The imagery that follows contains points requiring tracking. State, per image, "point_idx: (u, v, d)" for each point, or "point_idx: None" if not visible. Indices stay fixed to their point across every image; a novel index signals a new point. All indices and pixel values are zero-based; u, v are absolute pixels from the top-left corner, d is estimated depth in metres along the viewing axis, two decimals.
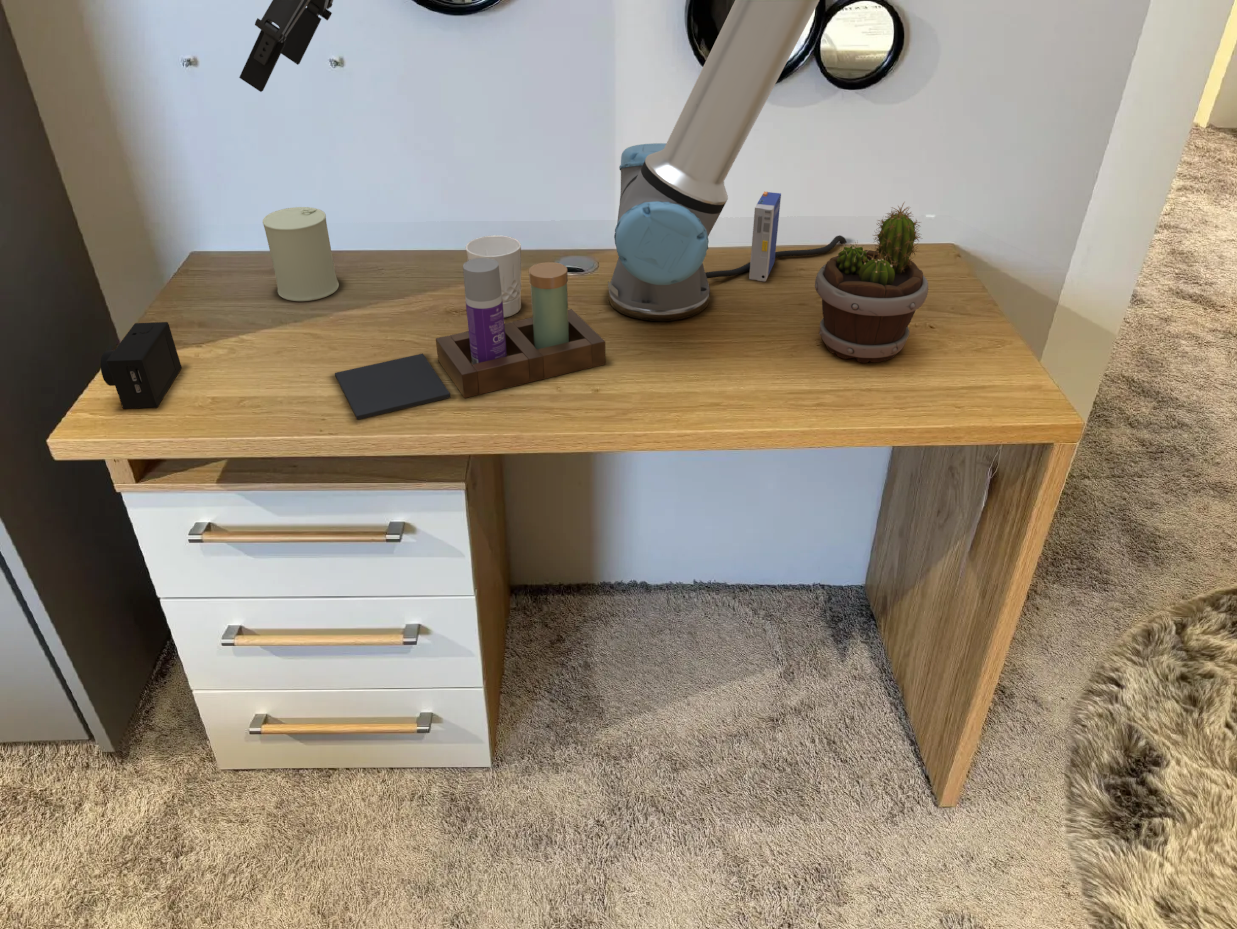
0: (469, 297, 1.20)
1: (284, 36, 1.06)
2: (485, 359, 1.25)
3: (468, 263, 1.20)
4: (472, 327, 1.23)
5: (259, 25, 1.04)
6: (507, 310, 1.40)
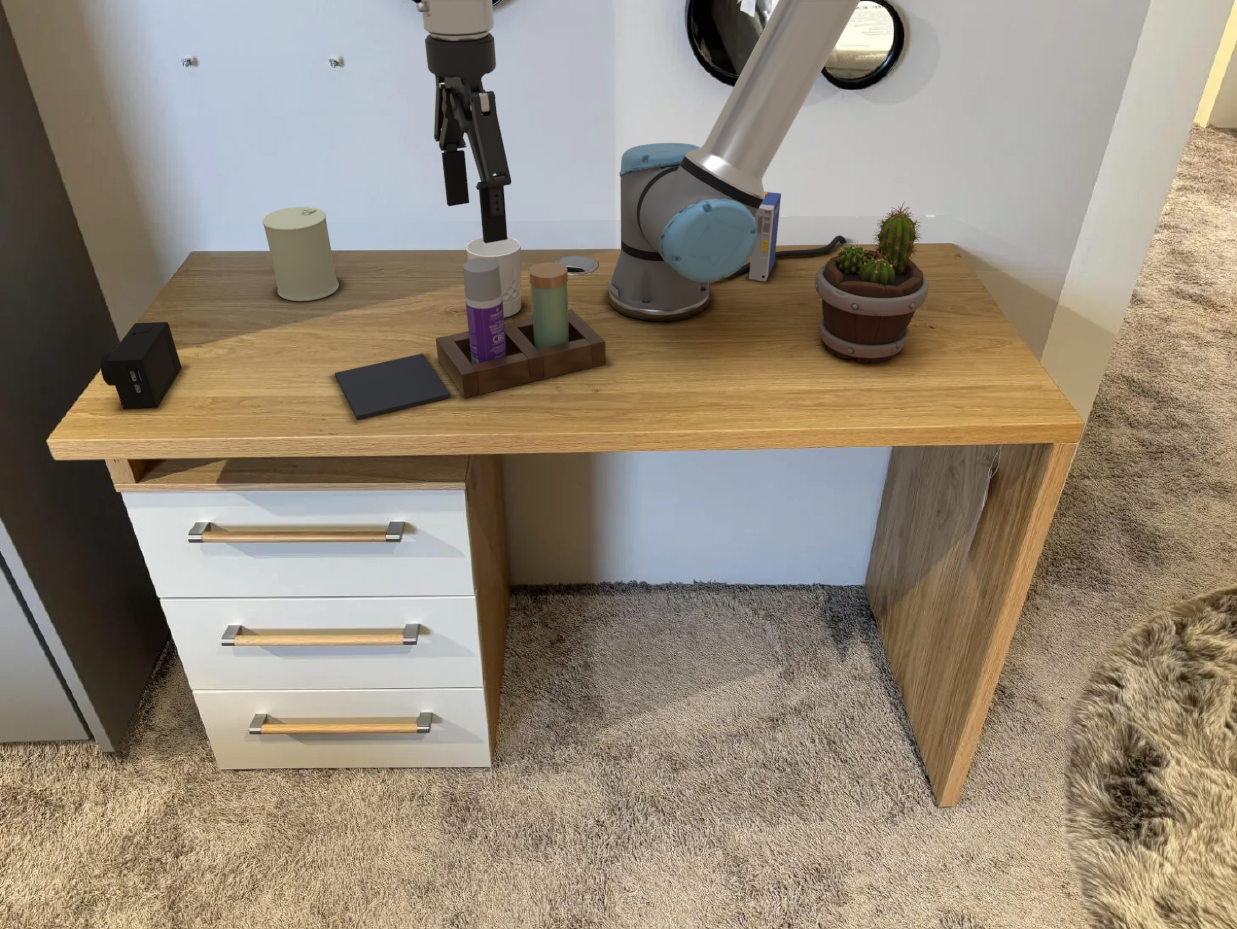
0: (469, 297, 1.20)
1: None
2: (485, 359, 1.25)
3: (468, 263, 1.20)
4: (472, 327, 1.23)
5: (491, 185, 1.04)
6: (507, 310, 1.40)
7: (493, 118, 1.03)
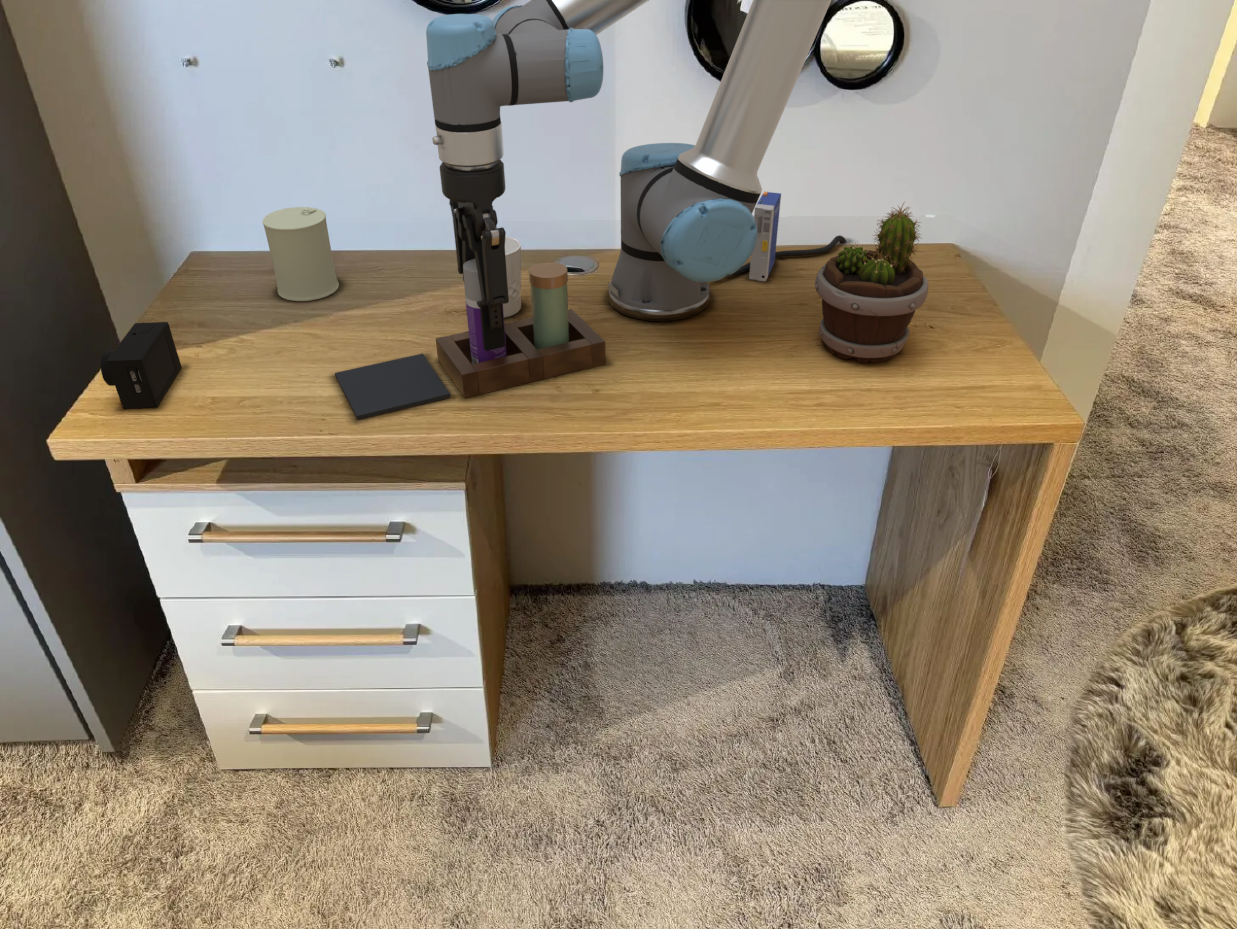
0: (469, 297, 1.20)
1: None
2: (485, 359, 1.25)
3: (468, 263, 1.20)
4: (472, 327, 1.23)
5: (490, 306, 1.16)
6: (507, 310, 1.40)
7: (501, 251, 1.13)
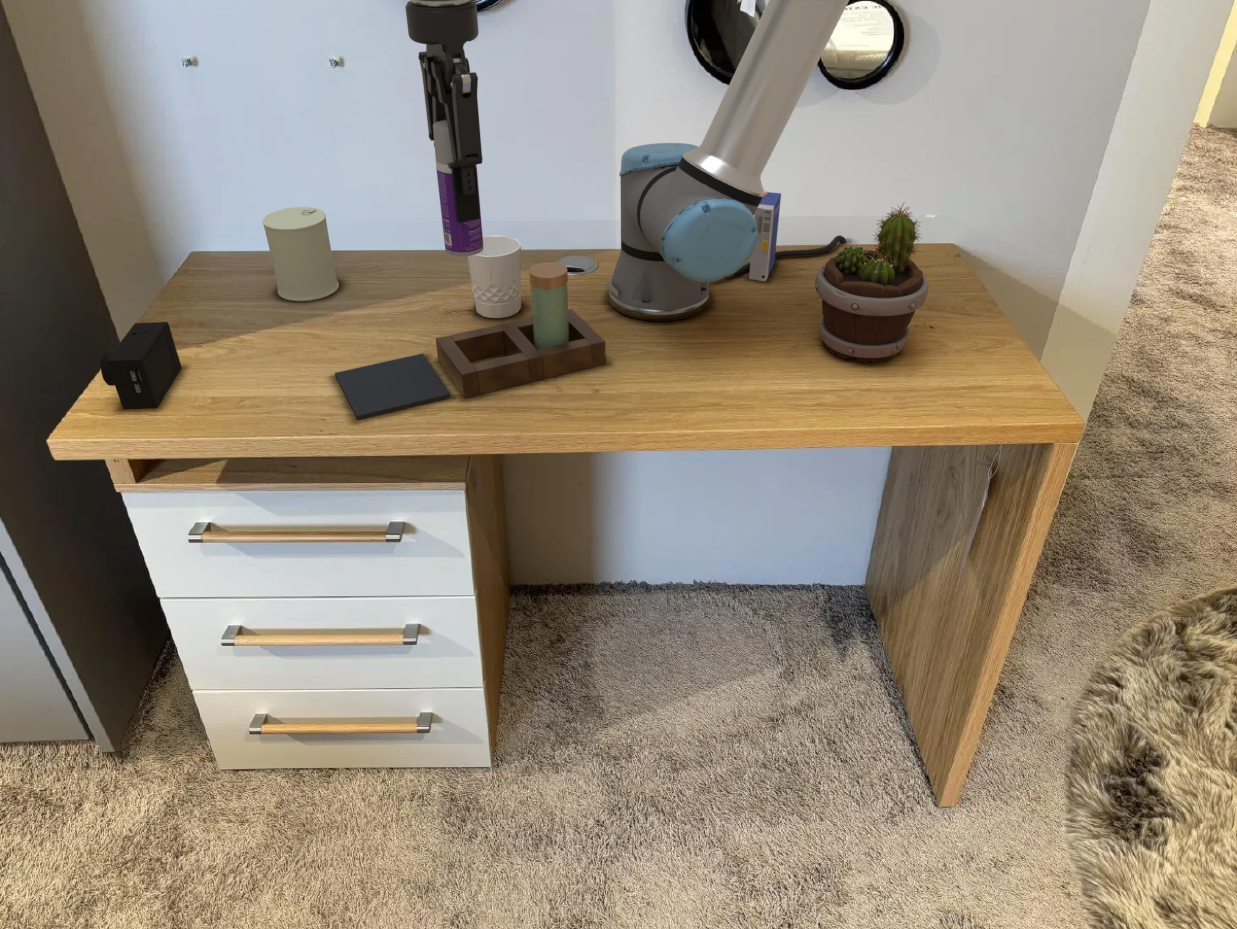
0: (440, 161, 1.10)
1: None
2: (458, 233, 1.14)
3: (439, 123, 1.09)
4: (443, 196, 1.12)
5: (462, 165, 1.06)
6: (507, 310, 1.40)
7: (473, 100, 1.03)
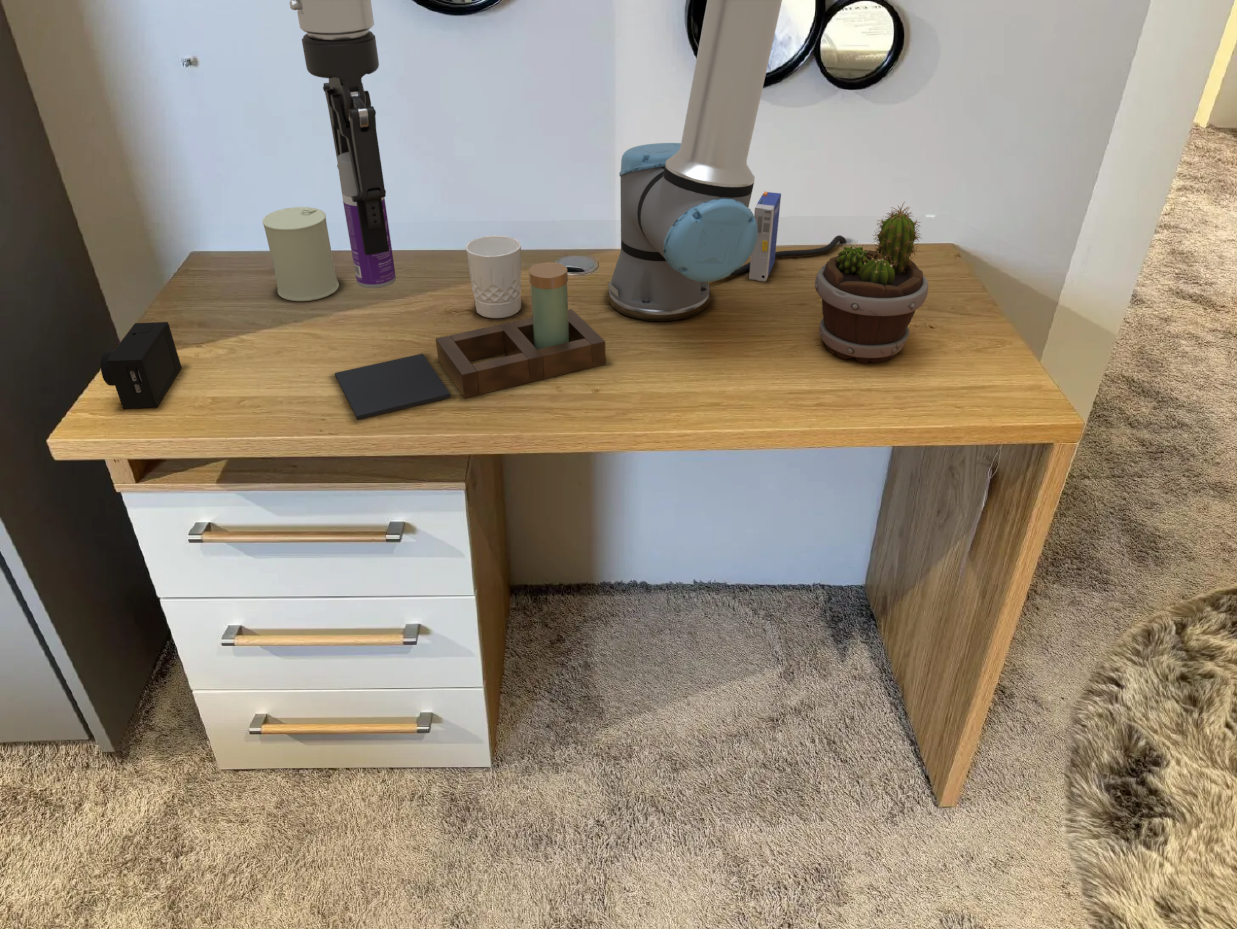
0: (345, 193, 1.08)
1: None
2: (367, 266, 1.12)
3: (343, 155, 1.08)
4: (350, 229, 1.11)
5: (364, 199, 1.04)
6: (507, 310, 1.40)
7: (372, 134, 1.01)
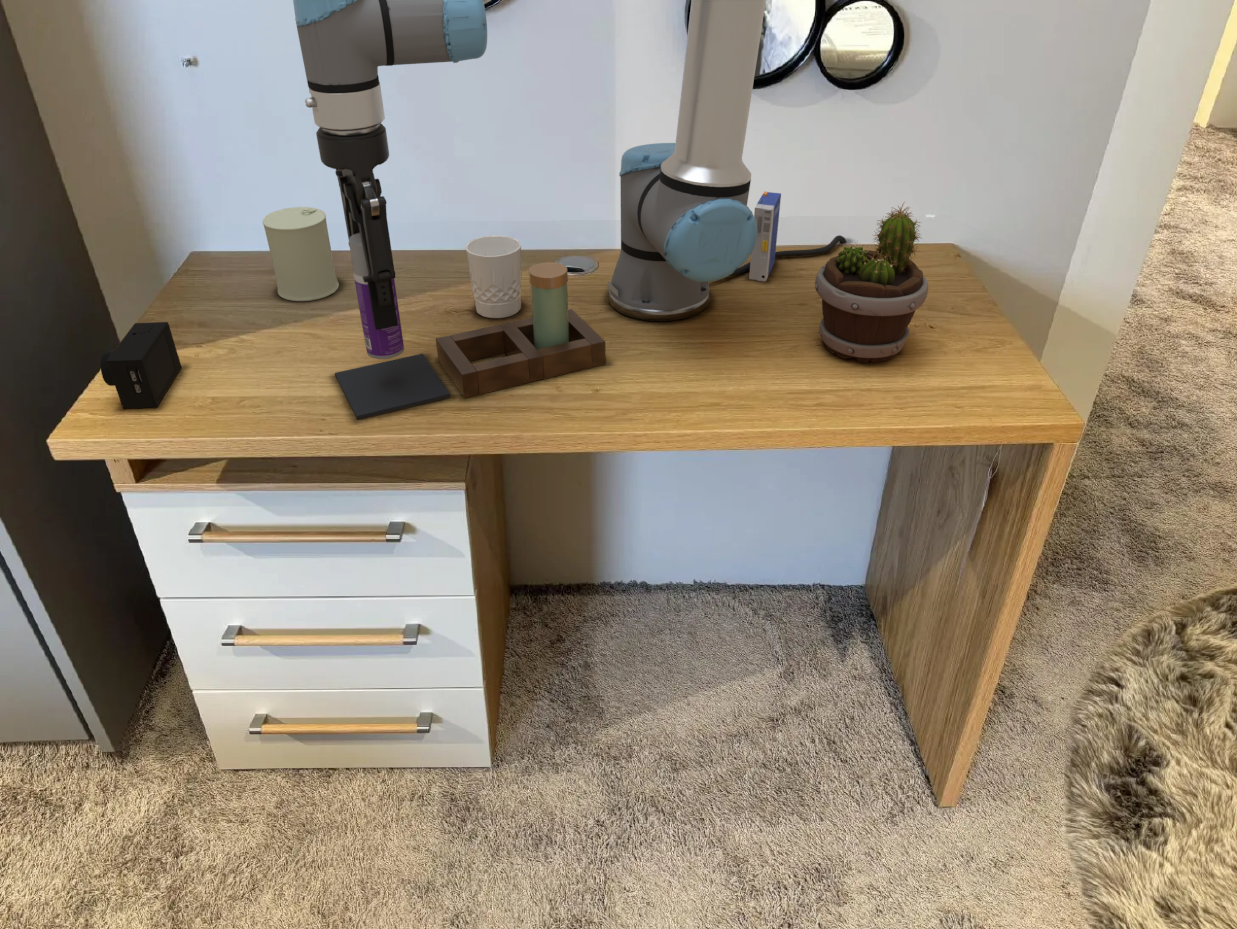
0: (356, 272, 1.13)
1: None
2: (377, 339, 1.18)
3: (355, 236, 1.13)
4: (361, 305, 1.16)
5: (375, 280, 1.10)
6: (507, 310, 1.40)
7: (382, 222, 1.06)
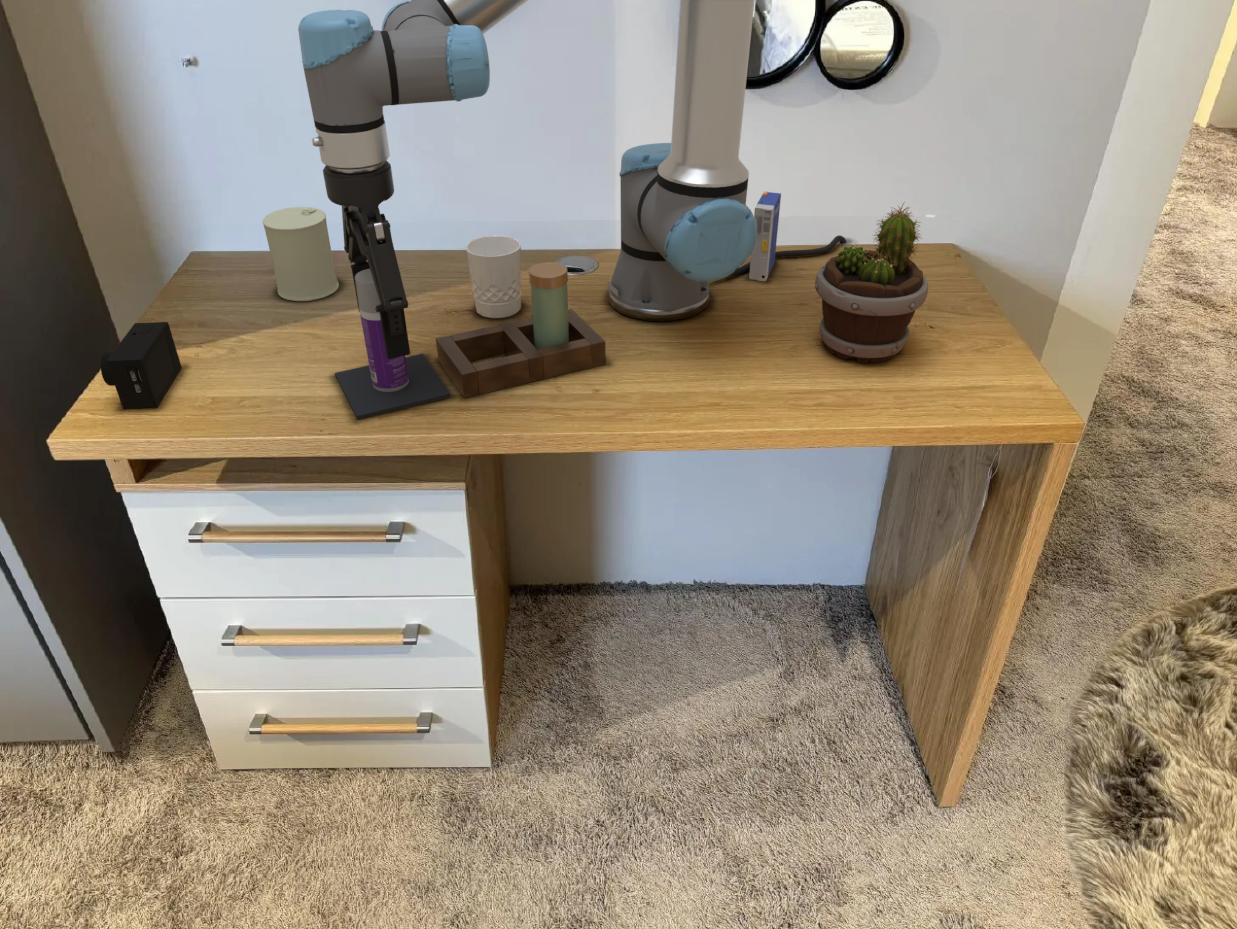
0: (362, 309, 1.16)
1: None
2: (382, 372, 1.21)
3: (361, 273, 1.16)
4: (367, 339, 1.19)
5: (387, 309, 1.08)
6: (507, 310, 1.40)
7: (389, 246, 1.07)
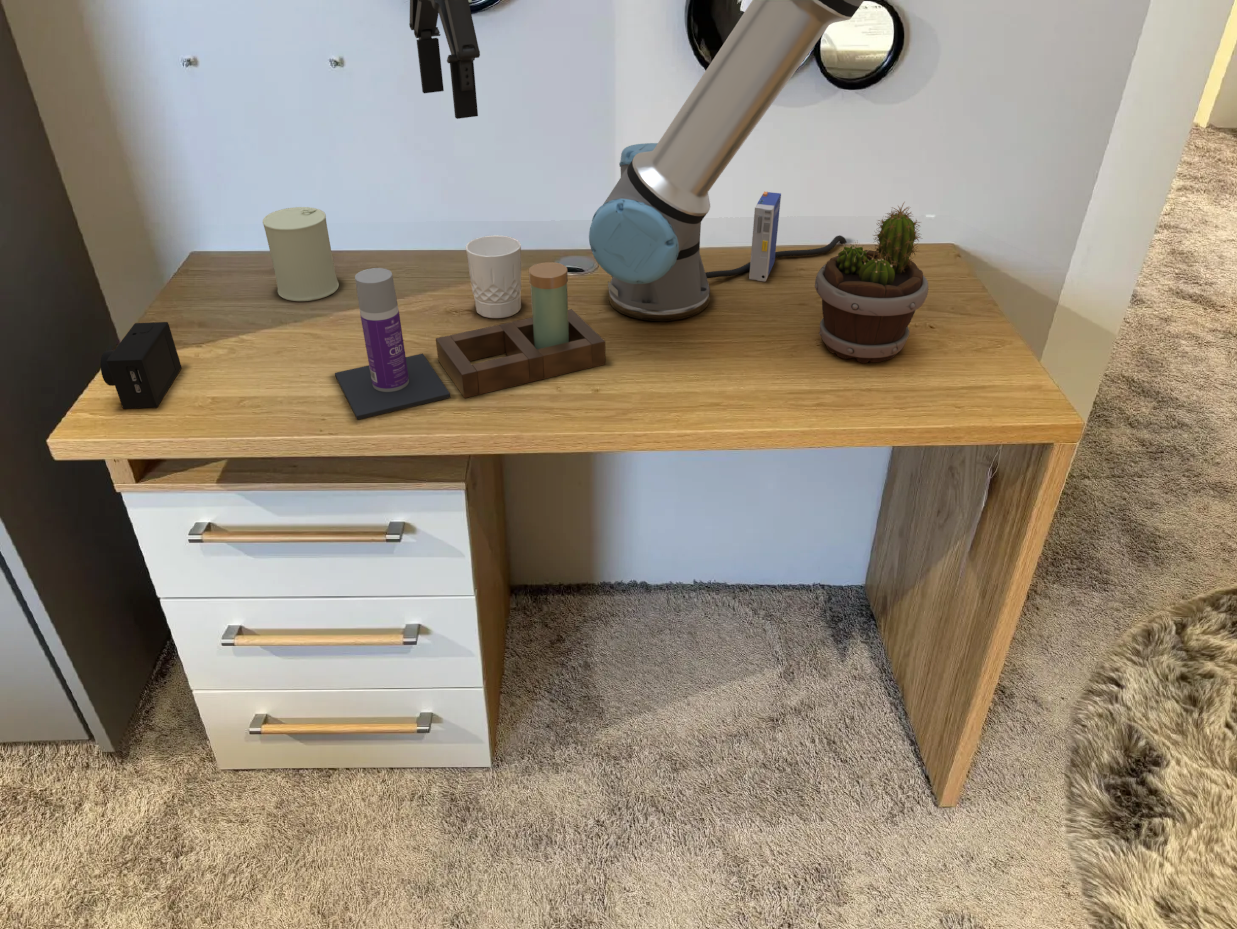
0: (362, 309, 1.16)
1: None
2: (382, 372, 1.21)
3: (361, 273, 1.16)
4: (367, 339, 1.19)
5: (460, 56, 1.10)
6: (507, 310, 1.40)
7: None
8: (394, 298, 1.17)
